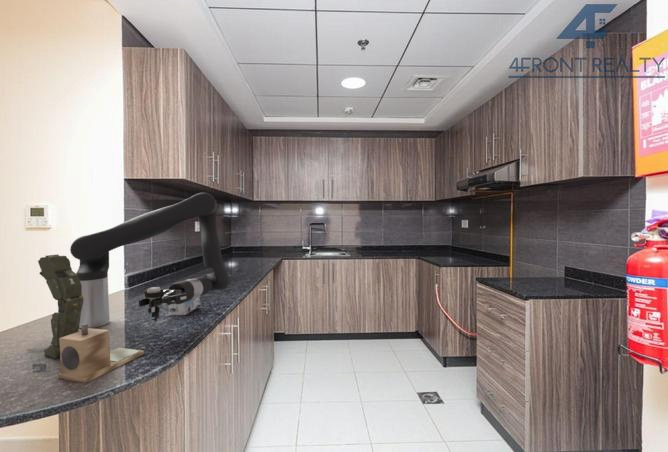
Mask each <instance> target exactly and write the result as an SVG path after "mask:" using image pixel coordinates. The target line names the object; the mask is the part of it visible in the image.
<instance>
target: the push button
mask: <svg viewBox="0 0 668 452" xmlns="http://www.w3.org/2000/svg"><path fill="white" fill-rule="evenodd" d="M163 290H164V289H161V287H160V286H152V287H148V288H147V289H146V290H145V291H144V292H143V294H144V298H148V299H151V300H152V299H156V298H160V296H162V295H163V292H164V291H163ZM147 311H148V312H147V313H148V316H147V317H148V318H147V320H148V321H149V323H155V322H157V320H158V319H160V307H159V305H158V306H155V307H152V308H151V307H148V309H147Z"/></svg>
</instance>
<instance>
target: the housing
mask: <svg viewBox="0 0 668 452" xmlns="http://www.w3.org/2000/svg"><path fill="white" fill-rule="evenodd" d="M81 327H82V328H81V330H80V331H79V330H78V332H76V333H73V334H70V335H67V336H64V337H61V338H59V342H60V359H59V360H60V373H59V374H58V375H57V376H58V379H61V380H66V381H72V382H78V383H84V384H86V383H88V382H90V381H92V380H95V379H96V378H99V377H100V376H102V375H104V374H106V373H108V372H110V371H113V370H116V368H119V367H121V366H122V365H125V364H127V363H128V362H131V361H133V360H135V359H136V358H137V359H138V358H139V357H141V356H143V355H144V353H145V352H144V350H141V349H135V348H134V349H132V348H124V347H118V348H115V349H113V350H111V346H110V345H111V344H110V330H109V329H102V328H101V329H100V328H88V324H83V325H81Z"/></svg>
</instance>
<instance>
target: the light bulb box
mask: <svg viewBox="0 0 668 452" xmlns="http://www.w3.org/2000/svg"><path fill="white" fill-rule="evenodd" d="M196 309H197V298H195V299H193V300H190V301H188V302H185V303H182V304H170V305H168V315H169V316H185V315H187V314H189V313H190V312H193V310H196Z"/></svg>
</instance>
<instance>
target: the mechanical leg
mask: <svg viewBox="0 0 668 452" xmlns="http://www.w3.org/2000/svg"><path fill="white" fill-rule="evenodd" d="M37 263H38V266H39V268H40V272H39V275H40V276H41V277H43V278H44V280H45V283H46V285H47V286H48V288H49V291H50V293H51V296H52V298H53V299H54V300H55V301H57V308H58V310H57V312H54V313H52V315H51V319H50V326H51V327H50V328H51V333H52V340H51V342H50V345H48V347H47V348H45V349H44V351H43V352H44V356H47V357H51V358H53V359H59V360H60V342H59V338H61V337H64V336H67V335H70V334H73V333H76V332H79V329H80V328H79V324H80V317H81V310H82V306H83V299H84V298H83V296H82V285H81V282H80V280H79V277H78V275H77V274H76V273H77V272H74V271H73V268H72V266H71V261H70V259H69V258H68V257H67V256H66V255H59V254H51V255H50V254H49V255H44V256H43V257H40V258H39V259H38V261H37Z"/></svg>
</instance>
